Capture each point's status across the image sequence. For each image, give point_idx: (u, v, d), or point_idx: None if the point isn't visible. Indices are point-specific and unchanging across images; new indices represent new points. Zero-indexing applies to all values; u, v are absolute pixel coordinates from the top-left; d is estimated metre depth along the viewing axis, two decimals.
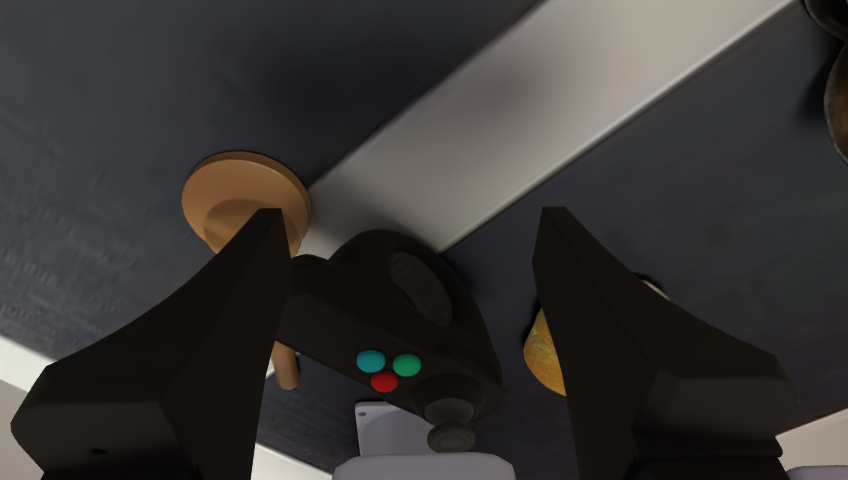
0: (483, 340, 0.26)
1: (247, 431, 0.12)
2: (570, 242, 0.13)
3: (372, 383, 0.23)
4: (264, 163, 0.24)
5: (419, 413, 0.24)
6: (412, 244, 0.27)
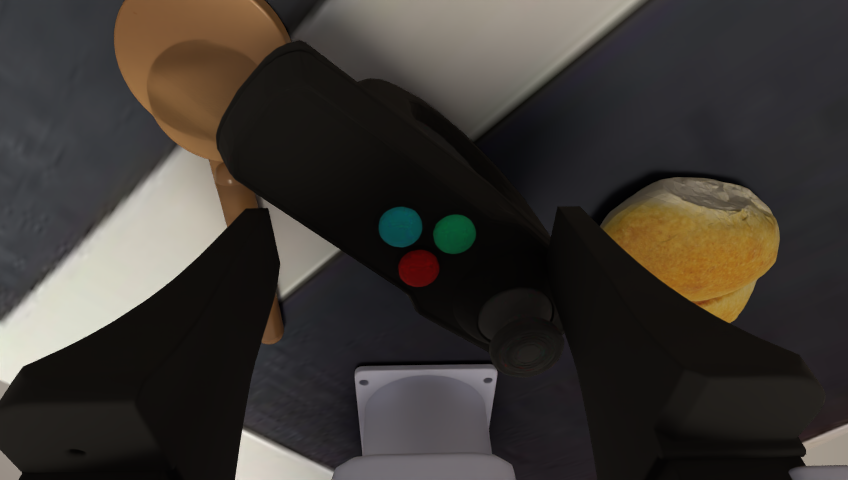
0: (545, 232, 0.18)
1: (231, 431, 0.12)
2: (587, 242, 0.13)
3: (401, 270, 0.15)
4: None
5: (470, 322, 0.16)
6: (436, 115, 0.20)
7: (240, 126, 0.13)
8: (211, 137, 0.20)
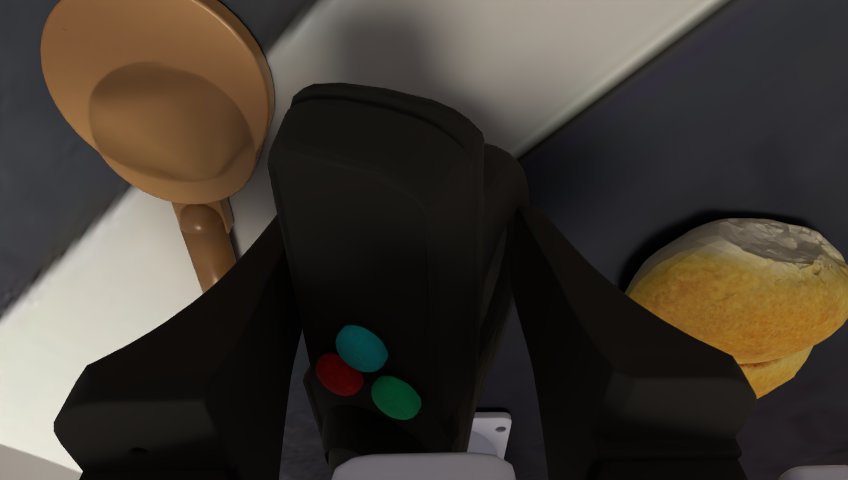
0: None
1: (276, 430, 0.12)
2: (540, 242, 0.13)
3: (323, 364, 0.12)
4: None
5: (329, 439, 0.14)
6: None
7: (325, 142, 0.09)
8: (172, 177, 0.16)
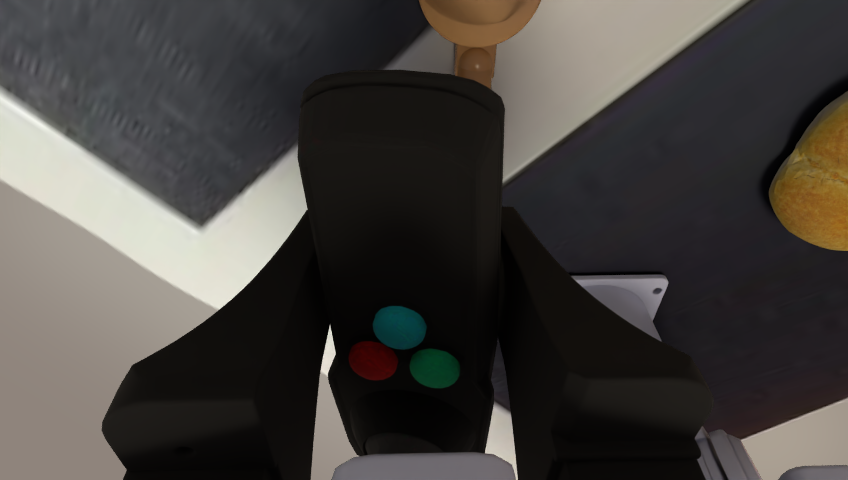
0: None
1: (308, 430, 0.12)
2: (511, 242, 0.12)
3: (358, 353, 0.12)
4: None
5: (366, 429, 0.14)
6: None
7: (363, 127, 0.09)
8: (468, 20, 0.20)
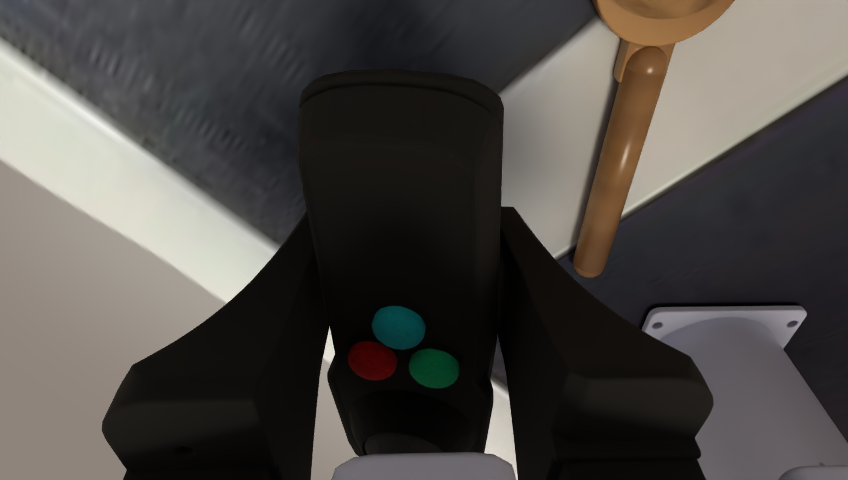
0: None
1: (308, 430, 0.12)
2: (511, 242, 0.12)
3: (357, 353, 0.12)
4: None
5: (365, 429, 0.14)
6: None
7: (362, 126, 0.09)
8: (650, 13, 0.17)
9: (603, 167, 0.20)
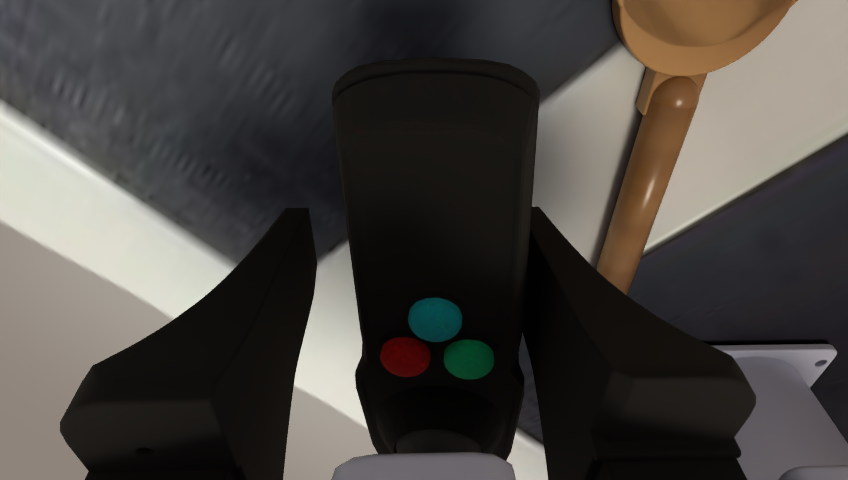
0: None
1: (280, 430, 0.12)
2: (540, 242, 0.13)
3: (391, 349, 0.12)
4: None
5: (397, 428, 0.13)
6: None
7: (407, 113, 0.09)
8: (680, 40, 0.15)
9: (623, 205, 0.18)
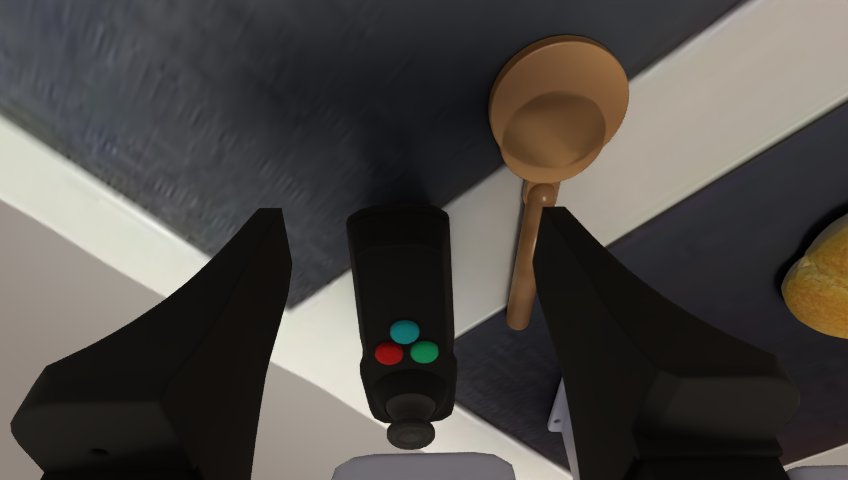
0: None
1: (247, 431, 0.12)
2: (570, 242, 0.13)
3: (381, 350, 0.22)
4: (601, 47, 0.22)
5: (386, 395, 0.23)
6: None
7: (387, 237, 0.19)
8: (539, 164, 0.25)
9: (519, 257, 0.28)
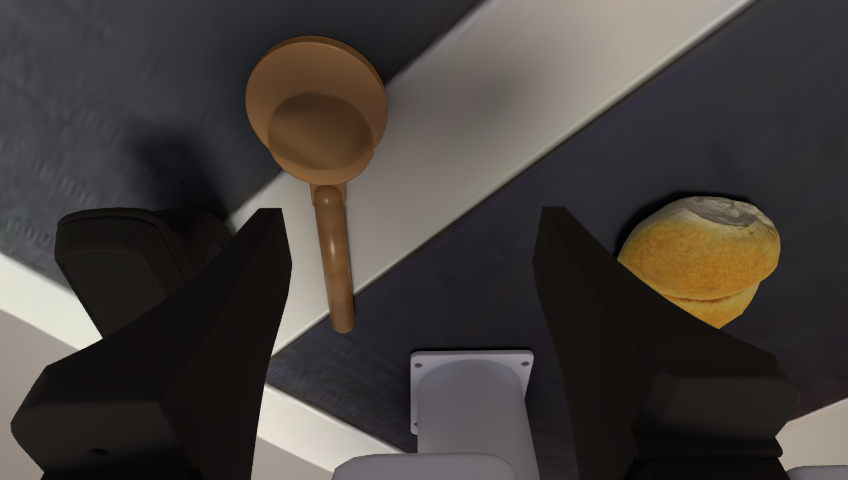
0: None
1: (247, 431, 0.12)
2: (570, 242, 0.13)
3: None
4: (342, 48, 0.21)
5: None
6: None
7: (83, 242, 0.18)
8: (314, 166, 0.24)
9: (322, 259, 0.28)
